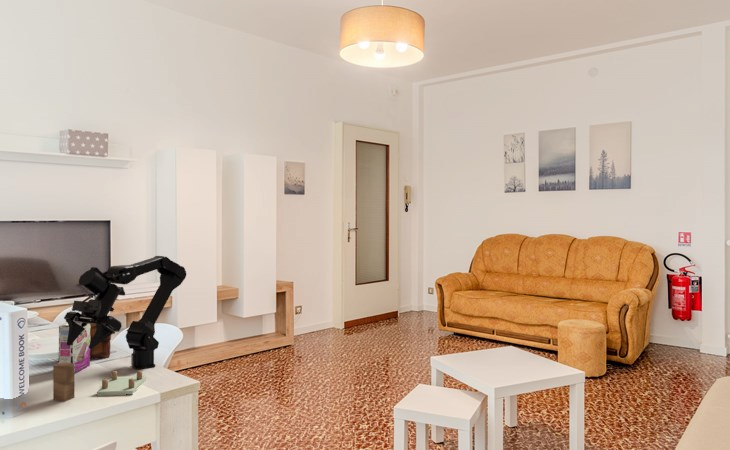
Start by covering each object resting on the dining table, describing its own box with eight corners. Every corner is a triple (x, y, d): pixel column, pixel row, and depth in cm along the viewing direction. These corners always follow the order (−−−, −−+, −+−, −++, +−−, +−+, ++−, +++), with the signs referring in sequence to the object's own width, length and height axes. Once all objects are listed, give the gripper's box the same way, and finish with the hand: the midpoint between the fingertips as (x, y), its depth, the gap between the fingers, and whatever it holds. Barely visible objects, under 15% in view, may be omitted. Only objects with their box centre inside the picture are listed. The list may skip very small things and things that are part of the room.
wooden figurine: (73, 361, 190) (73, 311, 190) (77, 356, 196) (77, 307, 196) (110, 358, 194) (110, 309, 193) (112, 354, 200) (112, 306, 199)
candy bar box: (72, 375, 174) (72, 325, 174) (57, 375, 174) (57, 325, 174) (91, 365, 185) (91, 318, 185) (77, 365, 186) (77, 318, 185)
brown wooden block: (63, 396, 156) (63, 362, 155) (74, 397, 154) (74, 363, 154) (53, 400, 152) (53, 365, 152) (64, 401, 151) (64, 366, 151)
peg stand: (113, 380, 170) (113, 368, 170) (146, 379, 171) (146, 368, 171) (96, 395, 156) (97, 383, 156) (132, 394, 157) (132, 382, 157)
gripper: (65, 286, 167) (37, 332, 159) (109, 291, 160) (82, 339, 152) (89, 303, 176) (64, 347, 167) (132, 308, 169) (108, 354, 160)
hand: (78, 346), depth 161 cm, fingers open, 9 cm apart
